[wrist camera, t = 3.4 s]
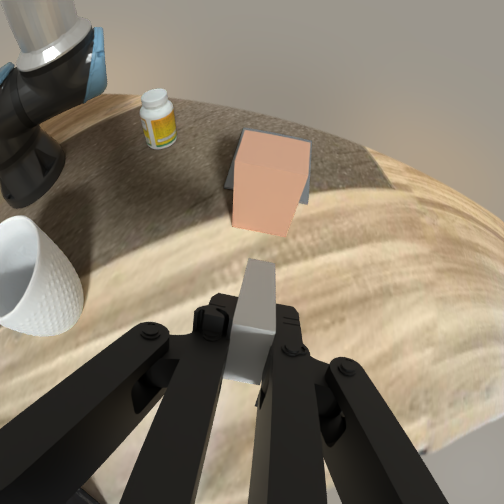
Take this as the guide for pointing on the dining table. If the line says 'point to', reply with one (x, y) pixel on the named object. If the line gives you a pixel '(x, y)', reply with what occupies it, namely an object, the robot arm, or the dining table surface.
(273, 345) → the robot arm
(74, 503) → the small box
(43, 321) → the mug
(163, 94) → the supplement bottle
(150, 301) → the dining table surface
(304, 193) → the mat
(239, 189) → the terracotta block
